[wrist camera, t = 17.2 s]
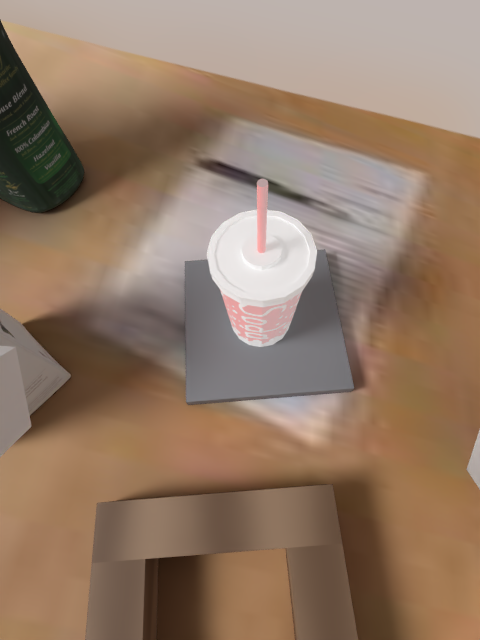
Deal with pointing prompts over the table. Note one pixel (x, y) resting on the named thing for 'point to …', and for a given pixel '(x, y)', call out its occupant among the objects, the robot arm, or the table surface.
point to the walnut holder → (219, 537)
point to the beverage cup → (261, 269)
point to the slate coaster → (269, 361)
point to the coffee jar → (31, 141)
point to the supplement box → (32, 363)
